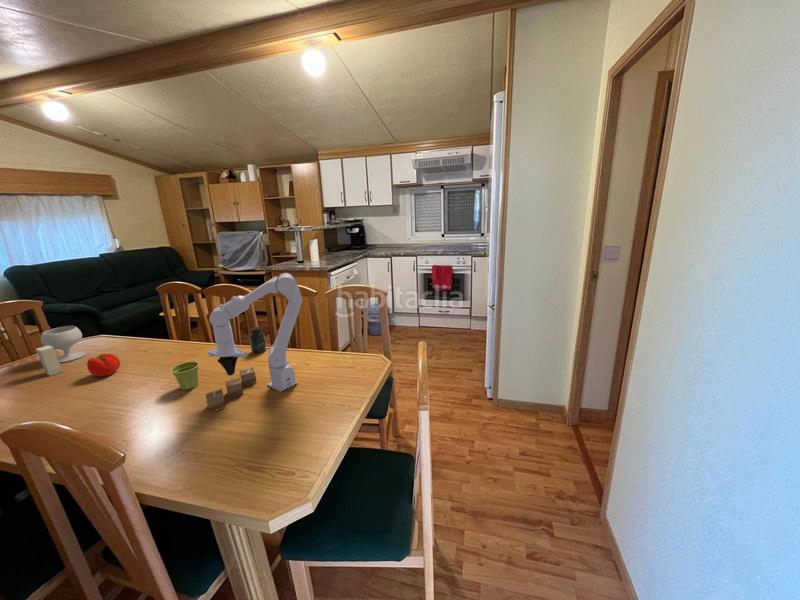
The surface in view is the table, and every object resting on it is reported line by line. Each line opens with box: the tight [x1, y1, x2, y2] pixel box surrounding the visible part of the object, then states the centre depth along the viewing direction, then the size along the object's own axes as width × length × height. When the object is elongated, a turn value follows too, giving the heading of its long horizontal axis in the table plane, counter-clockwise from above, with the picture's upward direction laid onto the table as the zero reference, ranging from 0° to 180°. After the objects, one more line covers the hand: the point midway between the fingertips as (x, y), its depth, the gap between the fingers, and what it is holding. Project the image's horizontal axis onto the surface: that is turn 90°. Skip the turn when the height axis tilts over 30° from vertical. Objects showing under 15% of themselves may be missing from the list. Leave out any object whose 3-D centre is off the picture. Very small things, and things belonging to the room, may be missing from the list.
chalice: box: [40, 325, 86, 364], centre depth 157 cm, size 14×14×15 cm
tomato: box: [86, 353, 121, 377], centre depth 140 cm, size 11×11×9 cm
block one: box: [205, 388, 226, 412], centre depth 113 cm, size 5×5×5 cm
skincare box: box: [35, 345, 63, 376], centre depth 142 cm, size 6×4×12 cm
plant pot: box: [170, 360, 200, 391], centre depth 126 cm, size 9×9×9 cm
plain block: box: [224, 376, 244, 399], centre depth 121 cm, size 5×5×5 cm
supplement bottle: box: [248, 326, 267, 355], centre depth 157 cm, size 7×7×12 cm
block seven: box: [239, 366, 257, 387], centre depth 129 cm, size 5×5×5 cm
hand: (231, 374), depth 119 cm, fingers closed
